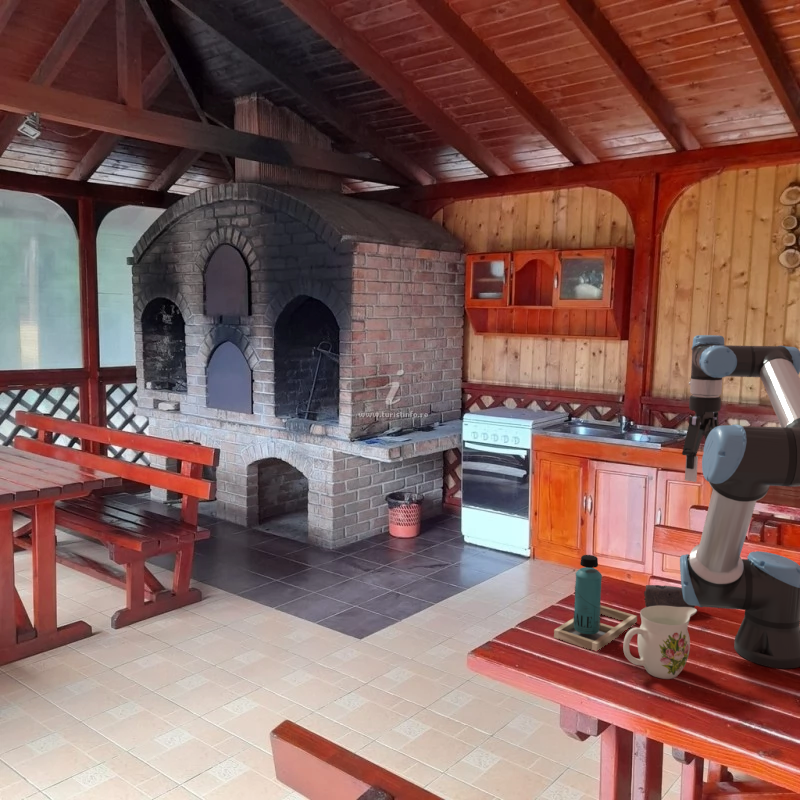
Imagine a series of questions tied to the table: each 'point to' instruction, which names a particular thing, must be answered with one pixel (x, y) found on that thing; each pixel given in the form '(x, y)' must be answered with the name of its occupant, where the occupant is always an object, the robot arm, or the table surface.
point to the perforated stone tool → (664, 596)
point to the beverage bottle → (587, 596)
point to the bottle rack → (604, 634)
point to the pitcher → (661, 640)
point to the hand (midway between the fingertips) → (700, 476)
